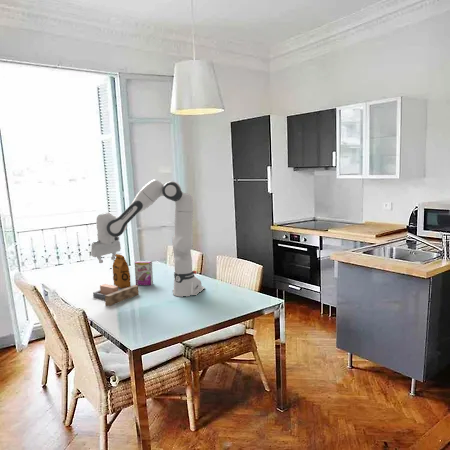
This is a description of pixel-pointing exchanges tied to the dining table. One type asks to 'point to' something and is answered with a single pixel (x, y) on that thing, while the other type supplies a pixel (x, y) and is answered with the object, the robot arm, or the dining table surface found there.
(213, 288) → the dining table surface
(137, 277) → the candy bar box
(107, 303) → the walnut board
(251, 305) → the dining table surface
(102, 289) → the block
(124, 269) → the coffee package
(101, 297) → the tray
